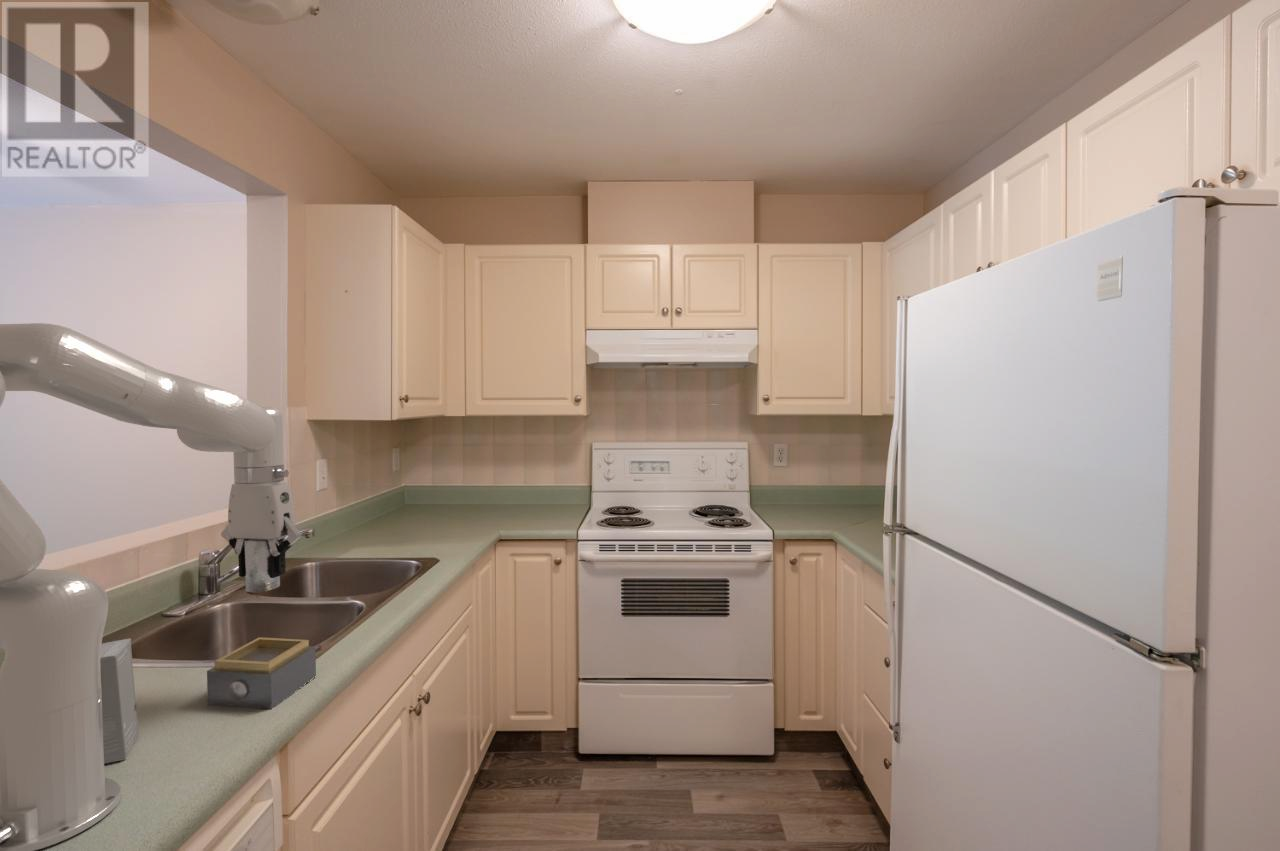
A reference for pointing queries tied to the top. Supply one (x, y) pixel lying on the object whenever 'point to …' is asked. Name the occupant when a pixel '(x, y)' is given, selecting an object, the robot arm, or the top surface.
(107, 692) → the skincare box
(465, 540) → the top surface
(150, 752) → the top surface
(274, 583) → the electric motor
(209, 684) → the grey gold trimmed box
